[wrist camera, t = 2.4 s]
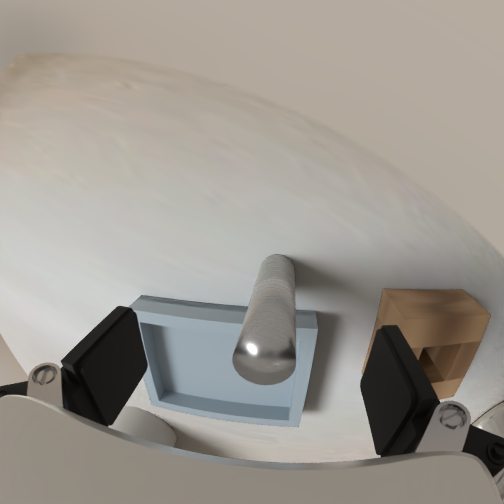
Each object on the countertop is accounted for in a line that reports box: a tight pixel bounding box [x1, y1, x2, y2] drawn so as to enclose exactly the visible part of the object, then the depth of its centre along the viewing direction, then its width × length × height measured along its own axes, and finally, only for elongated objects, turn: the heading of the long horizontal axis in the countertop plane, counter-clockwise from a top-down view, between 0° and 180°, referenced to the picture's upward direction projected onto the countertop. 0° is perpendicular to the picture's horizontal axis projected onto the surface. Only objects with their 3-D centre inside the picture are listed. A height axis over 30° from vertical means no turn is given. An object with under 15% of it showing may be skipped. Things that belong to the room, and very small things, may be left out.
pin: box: [232, 255, 296, 385], centre depth 14 cm, size 2×2×10 cm
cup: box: [108, 406, 177, 447], centre depth 23 cm, size 8×8×10 cm
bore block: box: [362, 289, 491, 400], centre depth 17 cm, size 8×8×5 cm
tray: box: [129, 295, 318, 427], centre depth 21 cm, size 14×11×2 cm
